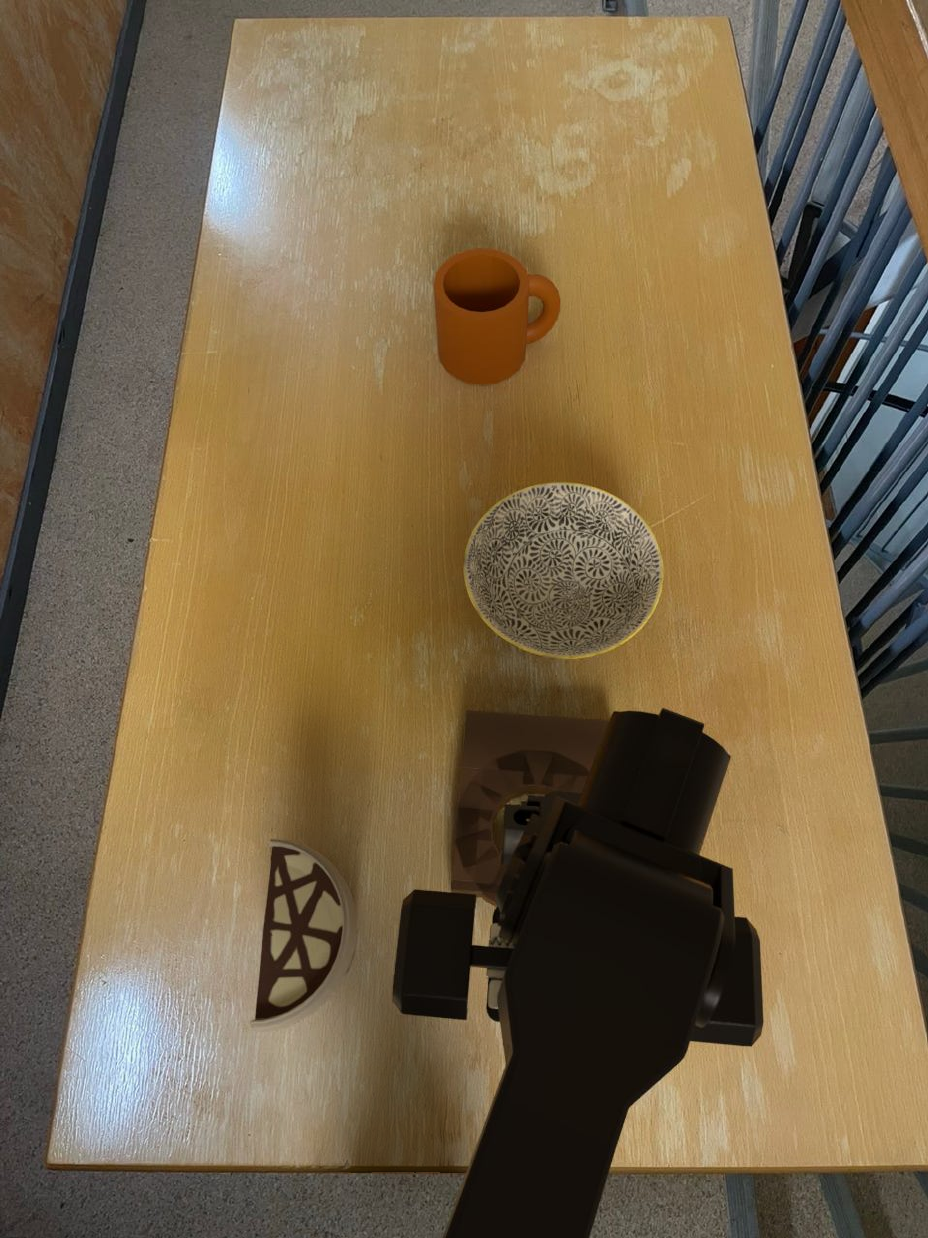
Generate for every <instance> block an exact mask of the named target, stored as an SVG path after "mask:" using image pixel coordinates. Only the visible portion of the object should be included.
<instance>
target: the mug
mask: <svg viewBox="0 0 928 1238" xmlns="http://www.w3.org/2000/svg"><path fill="white" fill-rule="evenodd" d="M432 286H433V297H434V312H435V325H436V326H435V327H436V339H437V341H436V342H437V353H438V357H439V362H440V364H441V366H442V367H443V369H444V370H445V372H447V373H448V374H449V375H451V376H452V377H453V378H454V379H456V380H458V381H460V382H463V383H465V384H466V383H467V384H469V385H476V386H477V385H478V386H485V385H486V386H487V385H493V384H498V383H501V382H503V381H505V380H507V379H510V377H512V376H513V375H514V374H516V373H517V372H518V371H519V370H520V368H521V367H522V365H523V364H524V362H525V360H526V352H527V345H531V344H533V343H536V342H537V341H540V340H541V339H542V338H544V337H545V336H547V335H548V333H549V332H550V331H551V330H552V329H553V328H554V326H555V324H556V322H557V321H558V317H559V316H560V312H561V296H560V292H559V289H558V288H557V287H556V284H555V283H554V282H553V281H552V280H551V279H549V278H548V277H547V276H544V275H541V274H537V273H528V271H527V269H526V268H525V267H524V265H523V264H522V263H521V261H520V260H518V259H517V258H516V257H514V256H512V255H511V254H510V253H506V252H504V251H501V250H498V249H494V248H483V247H482V248H481V247H480V248H473V249H466V250H464V251H460V252H458V253H456V254H453V255H452V256H450V257H449V258H447V259H446V260H444V262H443V263H442V264H441V265H440V266H439V267H438V269H437V271H436V272H435V276H434V280H433V285H432ZM530 297H534V298H535V297H536V298H537V299H539V300H540V301H541V303H542V309H541V312H540V313H539V315H538V316H537V317H536V318H535V319H534V320H533V321H530V322H529V305H530V304H529V303H530Z"/></svg>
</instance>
